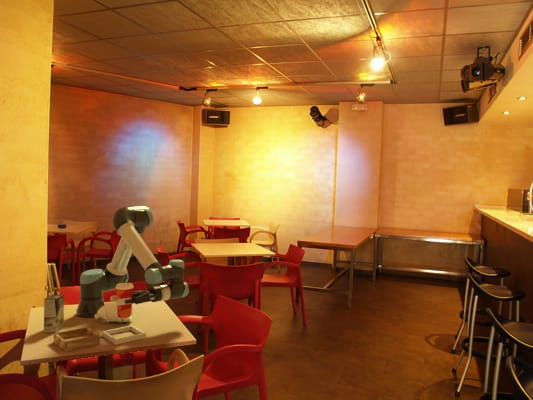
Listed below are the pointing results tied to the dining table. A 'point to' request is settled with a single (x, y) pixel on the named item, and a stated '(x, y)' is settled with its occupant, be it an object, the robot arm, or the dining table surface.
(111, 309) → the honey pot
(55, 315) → the coffee box
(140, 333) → the tray
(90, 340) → the tray
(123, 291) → the coffee cup
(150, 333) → the dining table surface
